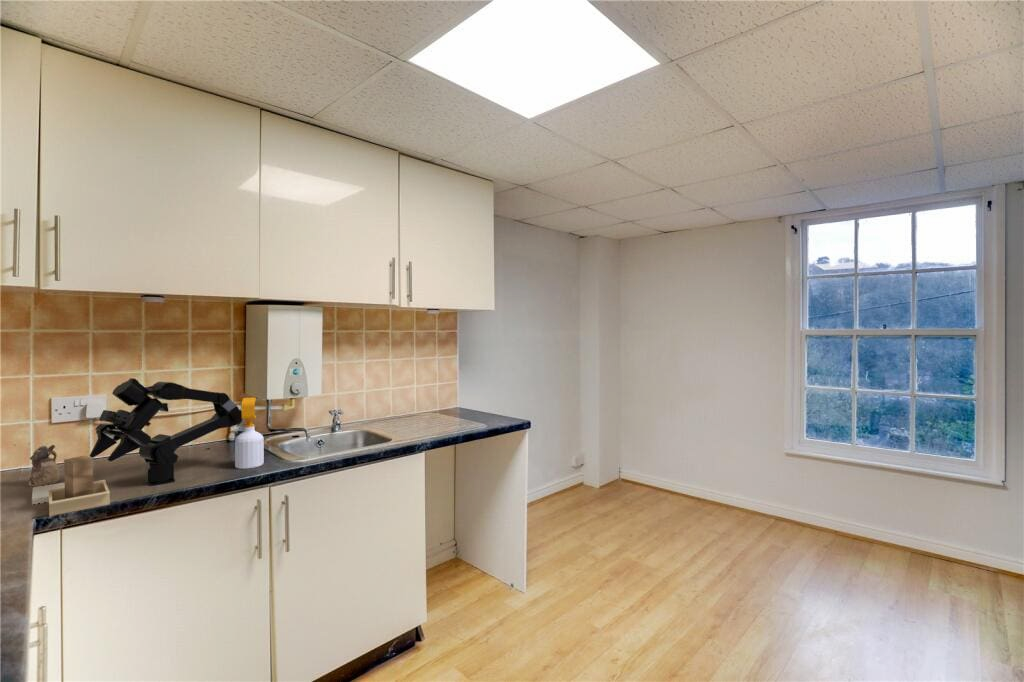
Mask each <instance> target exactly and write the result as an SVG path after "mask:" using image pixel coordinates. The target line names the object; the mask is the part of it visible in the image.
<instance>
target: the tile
mask: <svg viewBox="0 0 1024 682" xmlns="http://www.w3.org/2000/svg"><path fill="white" fill-rule="evenodd" d="M64 486H65V481H64V482H56V483H53V484H49V485H44V486H35V487H32V493H31V494H32V495H31V506H34V505H33V504H35V505H39V504H38V503H40V504H45V503H44V502H46V503H49V489H52V488H58V487H64Z"/></svg>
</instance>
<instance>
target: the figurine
mask: <svg viewBox="0 0 1024 682" xmlns="http://www.w3.org/2000/svg"><path fill="white" fill-rule="evenodd" d="M55 448H56V445H55V444H51V445H50V446H49V447H48V446H46V445H41V446H39V447H38V448H36V449H35V450H34V451H33V454H32V456H30V457H29V460H31V465H32V466H31V467H32V468H31V470H30V476H29V479H28V486H29V485H30V487H32V486H35V487H39V486H42V485H44V486H45V485H48V484H49V485H51V484H52V483H53V484H57V483H59V481H60V478H61V473H60V469H59V466H58V463H57V457H58V456H57V453H56V451H55V450H54V449H55ZM50 455H53V457H50Z"/></svg>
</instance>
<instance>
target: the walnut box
mask: <svg viewBox="0 0 1024 682" xmlns="http://www.w3.org/2000/svg"><path fill="white" fill-rule="evenodd" d="M93 459H94V458H93V457H90V456H88V455H80V456H76V457H70V458H66V459H64V460H63V464H64V465H63V467H64V468H63V470H64V471H63V473H64V474H63V475H64V477H63V478H64V482H65V499H68V498H74V497H79V496H85V495H90V494H93V482H94V462H93V461H94V460H93Z"/></svg>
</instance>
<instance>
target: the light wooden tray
mask: <svg viewBox="0 0 1024 682" xmlns="http://www.w3.org/2000/svg"><path fill="white" fill-rule="evenodd" d="M110 494H111V491H110V490H109V487H108V485H107V482H106V479H102V480H95V481H94V480H93V494H90V495H85V496H79V497H74V498H68V499H65V486H64V487H58V488H52V489H49V502H48V509H49V511H48V512H49V513H48V514H49V515H48V516H49V517H51V516H52V517H53V516H56V515H63V514H67V513H72V512H76V511H82V510H83V511H84V510H88V509H94V508H97V507H103V506H108V505H110V504H111V503H110V497H111V496H110Z"/></svg>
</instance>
